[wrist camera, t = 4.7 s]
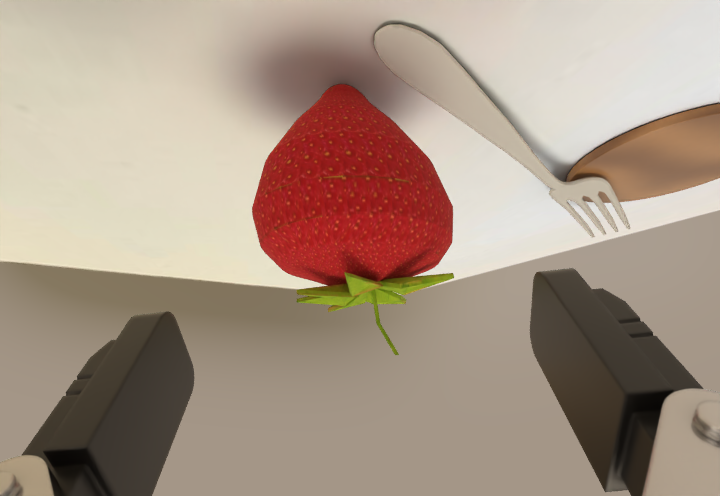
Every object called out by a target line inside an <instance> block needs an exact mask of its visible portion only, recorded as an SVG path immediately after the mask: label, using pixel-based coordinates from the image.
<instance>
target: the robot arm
mask: <svg viewBox="0 0 720 496" xmlns="http://www.w3.org/2000/svg"><path fill="white" fill-rule="evenodd" d="M530 338H531V344H532V348H533V351H534V354H535V357H536V359H537V361H538V363H539V365H540V367H541V368H542V371H543V373H544V374H545V376H546V378H547V380H548V382H549V384H550V386H551V388H552V390H553V392H554V394H555V396H556V397H557V400H558V402H559V404H560V405H561V407H562V409H563V411H564V413H565V415H566V417H567V419H568V421H569V423H570V425H571V427H572V429H573V430H574V433H575V434H576V436H577V438H578V440H579V442H580V444H581V446H582V448H583V450H584V452H585V454H586V456H587V458H588V460H589V462H590V463H591V465H592V467H593V469H594V471H595V473H596V475H597V477H598V479H599V481H600V483H601V485H602V487H603V489H604V491H605V492H611V491H622V490H629V492H630V494H631V496H720V393H719V392H716V391H711V390H706V389H703V388H702V387H701V385H700V384H699V383H698V382H697V381H696V380H695V379H694V378H693V376H692V375H691V374H690V373H689V372H688V371H687V370H686V369H685V368H684V366H683V365H682V364H681V363H680V362H679V361H678V360H677V359H676V358H675V356H674V355H673V354H672V353H671V352H670V351H669V350H668V349H667V348H666V347H665V346H664V344H663V343H662V342H661V341H660V340H659V339H658V338H657V336H653V332H652V331H651V330H650V329H649V328H648V326H647V325H646V324H645V323H644V322H641V321H640V318H639V316H638V315H637V314H636V313H635V312H634V311H633V310H632V309H631V308H630V307H629V305H628V304H627V303H626V302H625V301H623V300H622V299H620V298H618V297H616V296H615V295H613V294H611V293H609V292H608V291H606V290H604V289H591V288H590V286H589V285H588V284H587V283H586V282H585V280H584V279H583V278H582V277H581V276H580V274H579V273H578V272H577V271H576V270H575V269H573V268H570V269H561V270H551V271H543V272H537V273H536V274H535V276H534V280H533V293H532V308H531V321H530ZM193 386H194V369H193V364H192V361H191V359H190V356H189V353H188V351H187V348H186V345H185V343H184V340H183V337H182V334H181V332H180V329H179V326H178V324H177V321H176V319H175V317H174V315H173V314H172V313H171V312H159V313H150V314H142V315H135V316H133V317H131V319H130V320H129V321H128V323H127V324H126V326H125V328H124V329H123V330H122V332H121V334H120V335H119V336H118V338H117V339H116V340H111V341H110V342H108V343H107V344H106V345H105V346H104V347H102V348H101V349H100V350H99V351H98V352H97V353H95V354H94V355H93V356H92V357H91V358H90V359H89V360H88V362H87V363H86V364H85V366H84V367H83V369H82V370H81V372H80V373H79V374H78V376H77V380H74V381H73V383H72V384H71V386H70V387H69V389H68V390H67V392H66V396H63V397H62V399H61V400H60V401H59V403H58V404H57V406H56V407H55V408H54V410H53V411H52V413H51V414H50V416H49V417H48V419H47V420H46V421H45V423H44V424H43V426H42V427H41V428H40V430H39V431H38V433H37V434H36V435H35V437H34V438H33V440H32V441H31V443H30V444H29V446H28V447H27V448H26V450H25V451H24V453H23V454H22V456H18V457H13V458H10V459H7V460H5V461H2V462H0V496H152V494H153V492H154V489H155V487H156V484H157V481H158V479H159V476H160V474H161V471H162V468H163V465H164V463H165V461H166V458H167V456H168V453H169V450H170V448H171V445H172V443H173V440H174V438H175V435H176V432H177V430H178V427H179V425H180V422H181V420H182V417H183V414H184V412H185V409H186V407H187V404H188V401H189V399H190V396H191V394H192V391H193Z"/></svg>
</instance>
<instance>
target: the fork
mask: <svg viewBox="0 0 720 496" xmlns="http://www.w3.org/2000/svg"><path fill="white" fill-rule="evenodd" d="M374 46H375V49H376V51H377V53H378V55H379V57H380V59H381V60H382V61H383V62H384V63H385V65H386V66H387V67H388V68H389V69H390V70H391V71H392V72H393V73H394V74H395V75H396V76H398V77H399V78H401V79H402V80H403V81H405V82H406V83H408V84H409V85H410V86H412V87H413V88H415V89H416V90H417V91H419V92H420V93H422V94H423V95H425V96H426V97H427V98H429V99H430V100H432V101H433V102H435V103H436V104H438V105H439V106H441V107H442V108H444V109H445V110H447V111H448V112H449V113H451V114H452V115H454V116H455V117H457V118H458V119H460V120H461V121H462V122H464V123H465V124H467V125H468V126H469V127H471V128H472V129H474V130H475V131H476V132H478V133H479V134H480V135H482V136H483V137H484V138H486V139H487V140H489V141H490V142H492V143H493V144H495V145H496V146H497V147H499V148H500V149H502V150H503V151H505V152H506V153H507V154H509V155H510V156H511V157H513V158H514V159H515V160H516V161H518V162H519V163H520V164H522V165H523V166H524V167H526V168H527V169H528V170H529V171H530V172H531V173H533V174H534V175H535V176H536V177H537V178H538V179H540V180H541V181H542V182H543V183H544V184H546V185H547V186H548V187H550V188H552V189H551V190H550V191H549V195H550V196H551V197H552V198H553V199H554V200H555V201H556V202H557V203H559V204H560V205H561V206H562V207H564V208H565V209H566V210H567V211H568V212H569V213H570V214H571V215H572V216H573V217H574V218H575V219H576V221H577V222H578V223H579V224H580V225H581V226H582V227H583V228H584V229H585V230H586V231H587V232H588V234H589V235H590V236H591V237H595V236H594V234H593V233H592V231H591V229H590V228H589V226H588V224H587V223H586V222H585V221H584V220H583V219H582V218H581V216H580V215H579V214H578V213H577V212H576V211H575V210H574V208H573V207H572V206H571V205H570V204H569V203H568V202H567V200H570V201H574V202H575V203H577V204H578V205H579V206H580V207H581V208H582V209H583V211H584V212H585V213H586V214H587V215H588V217H589V218H590V219H591V220H592V222H593V223H594V224H595V225H596V226H597V228H598V229H599V230H600V231H601V233H602V234H603V235H606V232H605V230H604V229H603V227H602V225H601V223H600V221H599V220H598V219H597V217H596V216H595V214H594V213H593V212H592V210H591V209H590V208H589V206H588V205H587V203H586V202H585V201H584V200H583V198H582V197H583V196H587V197H589V198H590V199H591V200H592V201H593V202H594V203H595V204H596V206H597V207H598V208H599V210H600V211H601V213H602V214H603V216H604V217H605V218H606V220H607V221H608V223H609V224H610V225H611V227H612V228H613V229H614V231H615V232H618V229H617V227H616V224H615V222H614V220H613V218H612V216H611V215H610V213H609V211H608V210H607V208H606V207H605V205H604V203H603V202H602V200H601V198H600V197H599V195H598V193H599V191H601V192H604V193H605V194H606V195H607V197H608V198H609V200H610V201H611V203H612V205H613V207H614V208H615V210H616V212H617V214H618V215H619V217H620V219H621V220H622V222H623V223H624V225H625V226H626V228H627V229H630V225H629V223H628V220H627V217H626V215H625V213H624V211H623V209H622V207H621V205H620V203H619V201H618V199H617V197H616V195H615V193H614V191H613V189H612V187H611V185H610V184H609V183H608V182H607V181H606V180H604V179H603V178H599V177H585V178H582V179H578V180H575V181H571V182H562V181H560V180H558V179H557V178H556V177H555V176H554V175H553V174H552V173H551V172H550V171H549V170H548V169H547V168H546V167H545V166H544V164H543V163H542V162H541V161H540V160H539V159H538V158H537V156H536V155H535V154H534V152H533V151H532V150H531V149H530V147H529V146H528V145H527V144H526V142H525V141H524V140H523V138H522V137H521V136H520V135H519V133H518V132H517V131H516V129H515V128H514V127H513V125H512V124H511V123H510V122H509V121H508V119H507V118H506V117H505V116H504V115H503V114H502V113H501V111H500V110H499V109H498V108H497V107H496V106H495V105H494V103H493V102H492V101H491V100H490V99H489V98H488V96H487V95H486V94H485V93H484V92H483V91H482V89H481V88H480V87H479V86H478V85H477V84H476V82H475V81H474V80H473V79H472V78H471V77H470V75H469V74H468V73H467V72H466V71H465V70H464V68H463V67H462V66H461V65H460V64H459V63H458V62H457V61H456V60H455V59H454V58H453V57H452V55H451V54H450V53H449V52H448V51H447V50H446V49H445V48H444V47H443V46H442V45H441V44H440V43H439V42H437V41H436V40H434V39H432V38H431V37H429V36H428V35H426V34H424V33H423V32H421V31H419V30H416V29H413V28H410V27H407V26H404V25H402V24H398V25H387V26H384V27H383V28H381V29H380V30H378V31H377V32H376V33H375V39H374Z"/></svg>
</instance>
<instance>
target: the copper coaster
mask: <svg viewBox="0 0 720 496" xmlns="http://www.w3.org/2000/svg"><path fill="white" fill-rule="evenodd" d="M585 177H599V178H603V179H604V180H606V181H607V182H608V183H609V184H610V185H611V187H612V189H613V191H614V193H615V195H616V197H617V199H618V201H619V202H625V201H633V200H640V199H646V198H651V197H656V196H661V195H665V194H669V193H673V192H677V191H681V190H684V189H688V188H691V187H695V186H698V185H701V184H704V183H707V182H710V181H713V180H715V179H718V178H720V104H715V105H710V106H705V107H701V108H697V109H693V110H689V111H686V112H682V113H679V114H675V115H672V116H669V117H666V118H663V119H660V120H657V121H654V122H651V123H649V124H646V125H644V126H641V127H639V128H636V129H634V130H632V131H629V132H627V133H625V134H623V135H621V136H619V137H617V138H615V139H613V140H611V141H609V142H607V143H605V144H603V145H602V146H600V147H598V148H597V149H595V150H594V151H592V152H591V153H589V154H588V155H586V156H585V157H584V158H582V159H581V160H580V161H579V162H578V163H577V164H576V165H575V166H574V167H573V168H572V169H571V171H570V172H569V174H568V176H567V179H566V182H571V181H575V180H578V179H582V178H585ZM598 195H599V197H600V198H601V200H602V202H603V203H611V201H610V200H609V198H608V197H607V195H606V194H605V193H604V192H601V191H599V193H598ZM582 198H583V200H584V201H587V202H593V201H592V200H591V199H590V198H589V197H587V196H583V197H582Z"/></svg>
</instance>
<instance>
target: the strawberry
mask: <svg viewBox="0 0 720 496" xmlns="http://www.w3.org/2000/svg"><path fill="white" fill-rule="evenodd" d="M252 213H253V219H254V223H255V227H256V230H257V234H258V238H259V242H260V246H261V248H262V249H263V251H264V252H265V253H266V254H267V255H268V256H269V257H270V258H271V259H272V260H273V261H274V262H275V263H276V264H277V265H278V266H279V267H280V268H281V269H282V270H283V271H285V272H287V273H288V274H291V275H293V276H296V277H300V278H304V279H308V280H312V281H315V282H318V283H321V284H325V285H328V286H322V287H314V288H306V289H299V290H297V294H298V295H307V296H308V297H303V298H299V299H297V302H301V303H315V304H329V305H332V306H331V307H329V308H328V312H331V311H335V310H339V309H343V308H347V307H351V306H355V305H359V304H363V303H365V301H366V302H370V303H372V304H374V310H375V316H376V323H377V325H378V327H379V328H380V330H381V332H382V333H383V335H384V337H385V339H386V340H387V342H388V344H389V346H390V347H391V349H392V351H393V352H394V354H395V355H399V354H398V352H397V351H396V349H395V347H394V346H393V344H392V342H391V341H390V339H389V337H388V336H387V334H386V332H385V330H384V329H383V328H382V325H381V324H380V319H379V313H378V306H377V304H405V303H406V299H405V298H403V297H402V296H401V295H399V294H402V295H406V294H409V293H411V292H415V291H417V290H420V289H423V288H426V287H429V286H432V285H435V284H438V283H441V282H444V281H447V280H450V279H452V278H454V275H453V273H449V274H438V275H427V276H416V277H413V276H415V275H418V274H420V273H423V272H426V271H428V270H430V269H432V268H434V267H435V266H436V265H438V264H439V262H440V261H441V259H442V258H443V256H444V255H445V253H446V252H447V250H448V249H449V247H450V245H451V244H452V233H453V206H452V204H451V202H450V200H449V198H448V196H447V193H446V191H445V189H444V187H443V185H442V183H441V181H440V179H439V177H438V174H437V172H436V170H435V168H434V166H433V164H432V162H431V161H430V159H429V158H428V157H427V156H426V155H425V154H424V152H423V151H422V150H421V149H420V148H419V147H418V146H417V145H416V144H415V143H414V142H413V141H412V140H411V139H410V138H409V137H408V136H407V135H406V134H405V133H404V132H403V131H402V130H401V129H400V128H399V126H398V125H397V124H396V123H395V122H393V121H392V120H391V119H390V118H389V117H388V116H386V115H385V114H384V113H382V112H381V111H380V110H379V109H377V108H376V107H375V106H373V105H372V104H371V103H370V102H369V101H368V100H367V99H366V98H365V96H364V95H363V94H362V93H361V92H359V91H358V90H357V89H355V88H354V87H352V86H349V85H345V84H338V85H334V86H332V87H330V88H329V89H328V90H326V92H325V93H324V94H323V95H322V97H321V98H320V99H319V100H318V101H317V102H316V103H315V104H314V105H313V106H312V107H311V108H310V109H309V110H307V111H306V112H305V113H304V114H303V115H302V116H301V117H300V118H298V119H297V120H296V122H295V123H294V124H293V125H292V127H291V128H290V129H289V130H288V132H287V133H286V134H285V136H284V137H283V138H282V139H281V141H280V142H279V143H278V144H277V146H276V147H275V148H274V149H273V151H272V152H271V153H270V155H269V156H268V158H267V160H266V162H265V165H264V168H263V172H262V175H261V179H260V182H259V186H258V189H257V193H256V197H255V200H254V204H253V207H252ZM392 291H393V292H392ZM395 292H396V293H395ZM397 293H399V294H397Z"/></svg>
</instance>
